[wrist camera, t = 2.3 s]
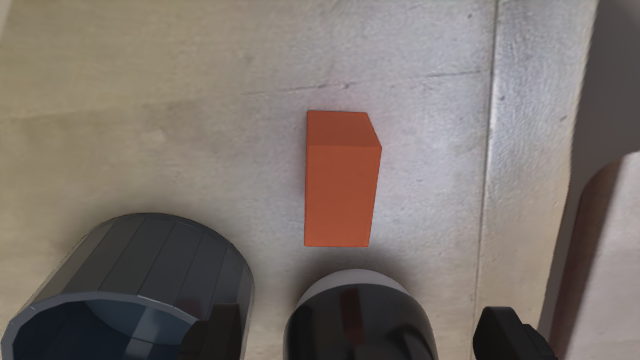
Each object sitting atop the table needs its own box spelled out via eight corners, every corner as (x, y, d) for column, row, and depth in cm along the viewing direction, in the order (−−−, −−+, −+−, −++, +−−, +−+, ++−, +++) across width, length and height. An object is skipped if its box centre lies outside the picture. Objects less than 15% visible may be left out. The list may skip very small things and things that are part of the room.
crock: (97, 343, 30) (45, 435, 24) (46, 210, 24) (-42, 289, 18) (257, 343, 31) (245, 433, 25) (249, 213, 25) (231, 292, 19)
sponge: (304, 198, 24) (304, 246, 20) (307, 110, 21) (307, 144, 17) (357, 199, 24) (368, 247, 20) (367, 112, 21) (382, 147, 17)
